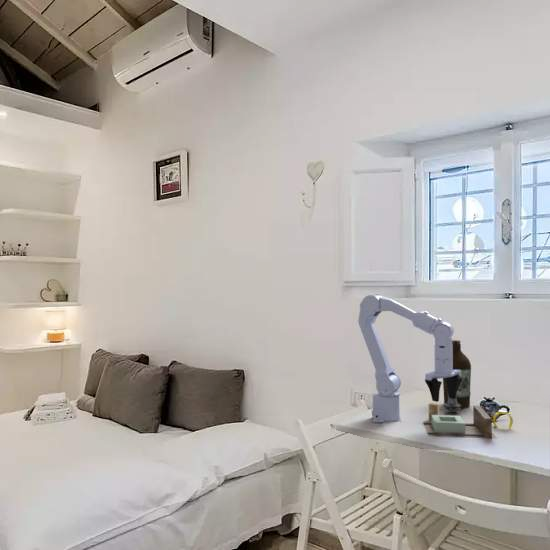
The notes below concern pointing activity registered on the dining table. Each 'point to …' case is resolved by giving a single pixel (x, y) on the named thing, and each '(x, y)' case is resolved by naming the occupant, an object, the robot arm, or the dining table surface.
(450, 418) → the sage socket block
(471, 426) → the walnut board
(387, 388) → the robot arm
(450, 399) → the salt shaker
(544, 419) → the dining table surface
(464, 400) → the olive oil
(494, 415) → the watch
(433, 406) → the oak dowel
